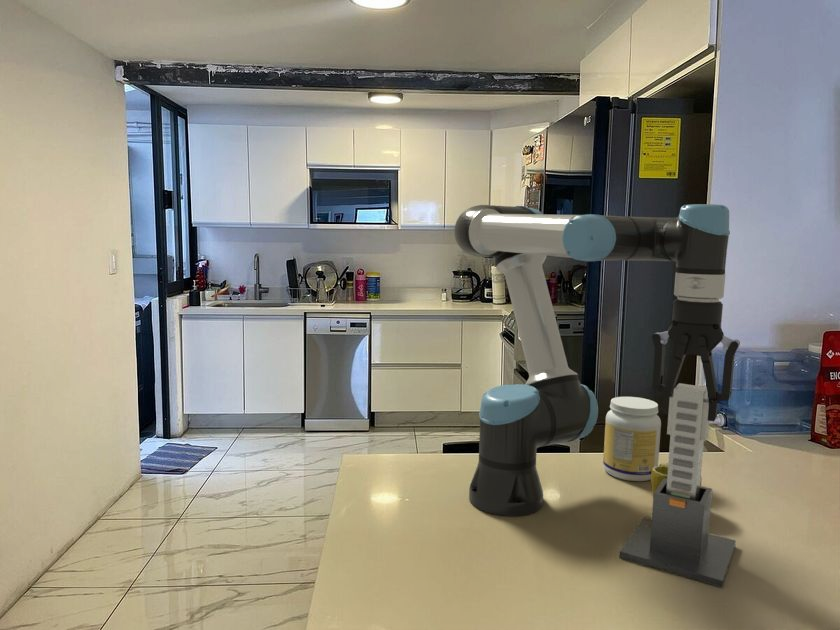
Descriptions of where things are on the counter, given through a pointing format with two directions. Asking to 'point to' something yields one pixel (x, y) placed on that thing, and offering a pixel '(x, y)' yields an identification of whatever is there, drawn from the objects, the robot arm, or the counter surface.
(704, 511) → the stand
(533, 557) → the counter surface
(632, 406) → the supplement tub
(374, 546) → the counter surface
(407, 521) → the counter surface
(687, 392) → the column
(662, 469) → the mug
